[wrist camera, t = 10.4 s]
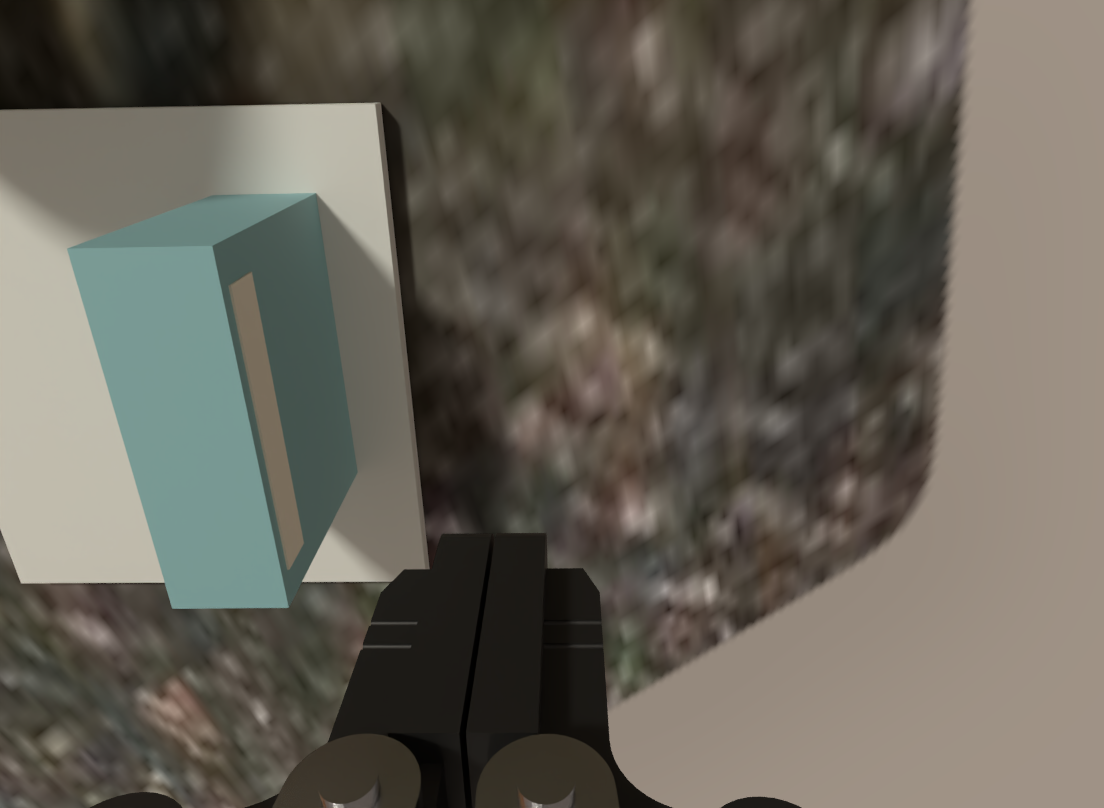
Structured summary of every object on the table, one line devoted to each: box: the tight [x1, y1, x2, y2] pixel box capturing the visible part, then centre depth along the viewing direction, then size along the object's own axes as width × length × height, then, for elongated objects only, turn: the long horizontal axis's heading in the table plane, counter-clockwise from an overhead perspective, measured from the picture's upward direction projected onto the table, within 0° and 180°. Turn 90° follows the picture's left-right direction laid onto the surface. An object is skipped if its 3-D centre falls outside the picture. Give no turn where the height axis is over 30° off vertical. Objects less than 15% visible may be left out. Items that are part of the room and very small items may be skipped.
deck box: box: [67, 193, 358, 609], centre depth 17 cm, size 8×3×6 cm, turn 1°
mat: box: [0, 103, 430, 583], centre depth 21 cm, size 14×13×1 cm
